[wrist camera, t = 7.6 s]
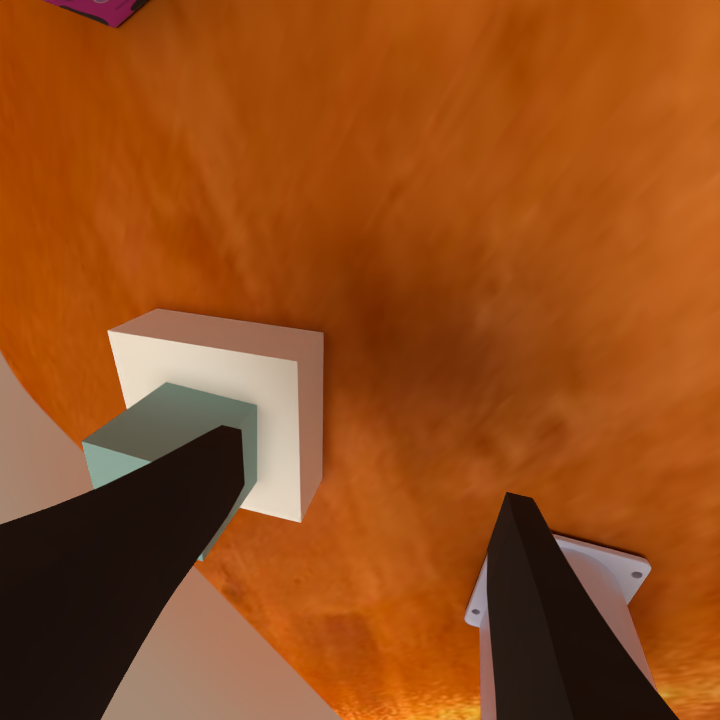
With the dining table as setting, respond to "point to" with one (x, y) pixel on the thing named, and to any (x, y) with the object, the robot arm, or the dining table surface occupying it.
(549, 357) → the dining table surface
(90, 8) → the candy bar box
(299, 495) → the cream block
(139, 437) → the teal cube
